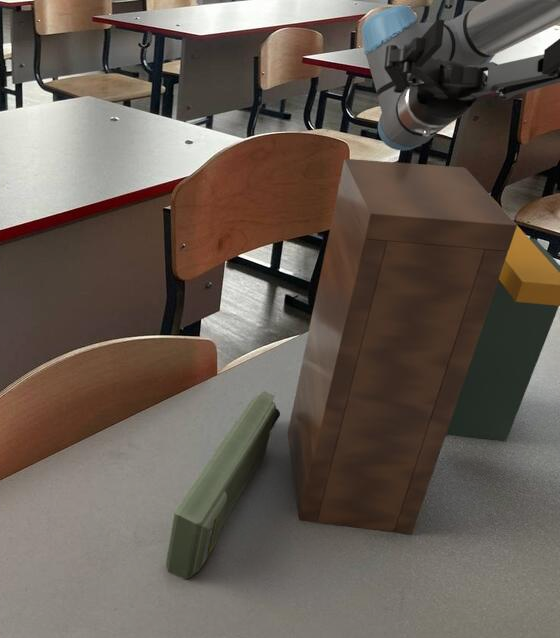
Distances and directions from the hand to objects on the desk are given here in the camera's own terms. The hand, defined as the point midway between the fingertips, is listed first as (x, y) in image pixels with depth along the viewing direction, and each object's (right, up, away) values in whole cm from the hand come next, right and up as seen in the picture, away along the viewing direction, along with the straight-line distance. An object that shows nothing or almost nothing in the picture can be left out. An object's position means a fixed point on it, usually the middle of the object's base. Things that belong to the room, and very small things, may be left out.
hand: (508, 36), depth 78 cm
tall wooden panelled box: (-18, -45, -4) cm, 49 cm away
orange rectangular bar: (-3, -23, -3) cm, 23 cm away
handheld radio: (-30, -46, -6) cm, 55 cm away
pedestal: (-3, -40, +7) cm, 40 cm away
